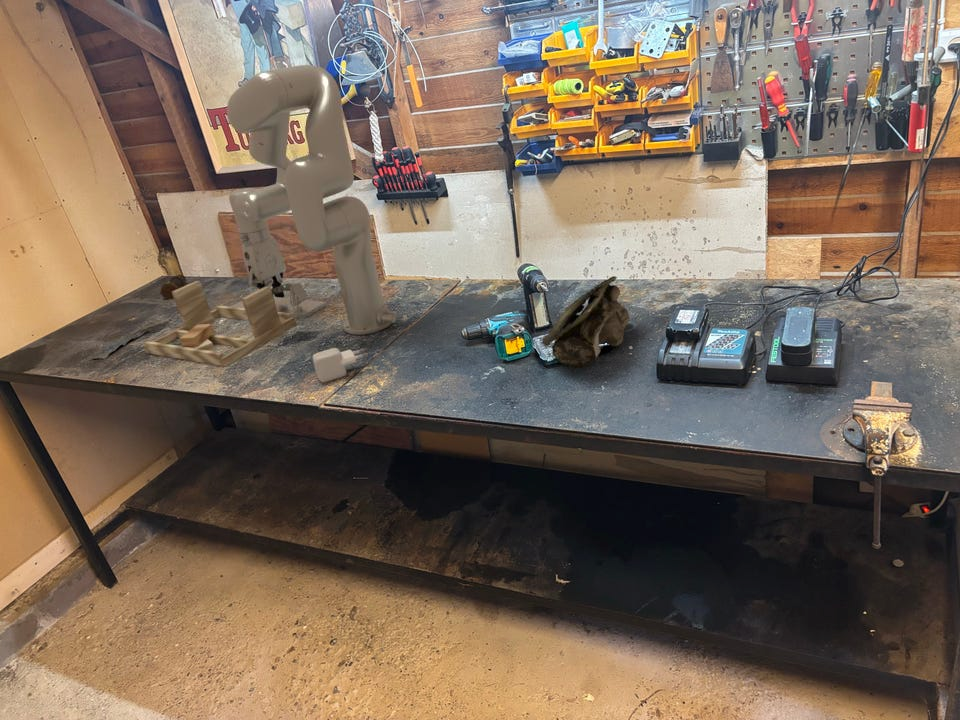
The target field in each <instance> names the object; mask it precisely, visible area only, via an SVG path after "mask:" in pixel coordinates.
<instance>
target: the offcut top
mask: <svg viewBox="0 0 960 720" xmlns="http://www.w3.org/2000/svg"><path fill="white" fill-rule="evenodd" d="M212 334H213V335H215V331H214V327H213V325H212V323H211V324H202V325H196V326H195V327H194V328H192V329H191V330H190V331H189V332H187V333H186V334H185V335H183V336H182V337H181V338H178V339H179V341H180V344H181V346H182V347H198V346H199V345H200V344H202V343H203V342H204V341H205V340H206V339H208V338H209V337H210V336H211V335H212Z"/></svg>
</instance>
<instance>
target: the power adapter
mask: <svg viewBox="0 0 960 720" xmlns="http://www.w3.org/2000/svg"><path fill="white" fill-rule="evenodd" d="M365 351H366V350H365V348H360V349H357V350H354V351H352V350H351V349H346V350H344V351H340V349H339V348H338V347H332V348H329V349H325V350H321V351H319V352H315V353H314V354H312V362H313V366H314V369H315V372H316V375H317V378H318V380H319V381H320V383H327V382H328V383H329V382H331V381H334V380H337V379H340V378H343V377H345V376H346V375H347V369H346V366H348V365H352V364H356V363H357V359H360V358H365V357H368V356H369V354H368V352H365ZM356 354H357V355H356Z"/></svg>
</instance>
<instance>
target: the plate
mask: <svg viewBox="0 0 960 720" xmlns="http://www.w3.org/2000/svg"><path fill="white" fill-rule="evenodd" d="M273 297H274V300H275V305H276V308H277V311H278V312H284V313H291V315H292V317H295V319H307V318H308V317H309V316H312V315H313V314H314V313H316V312H318V311H320V310H322V309H323V308H325V307H326V306H327V302H326V301H320V300H319V301H318V300H311V299H310V300H308V299H306V300H304V301H302V302H301V303H300V304H299V305H296V306H294V305H293V303H292V305H293V306H294V307H292V305H291V303H290V298H287V297H283V298H281V297H275V296H273ZM295 300H297V299H296V298H295ZM291 302H292V298H291ZM296 303H297V302H296ZM230 307H236V308H245V307H244V304H243V301H242V300H241V301H238V302H237V303H235V304H233V305H231V306H230Z"/></svg>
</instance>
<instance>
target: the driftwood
mask: <svg viewBox="0 0 960 720" xmlns="http://www.w3.org/2000/svg"><path fill="white" fill-rule="evenodd" d="M145 326H146V325H144V324H141V323H139V324H138V327H137V328H136V329H134V330H130V332H128V333H126V335H123V336H121V337H119V338H117V339H116V340H115V341H113V342H111V343H110V344H109V345H107V346H104V347H103V348H102V349H101V350H100V351H99V352H98V353H97V355H96V356H95V357H93V358H92V360H94V359H107V358H108V357H109V355H110V354H111V353H112V352H114V351H116V350H117V349H118V348H119V347H120V346H122V345H123V347H125V346H126V344H127V343H128V342H129V341H130V340H132V339H137V338H138V337H140V336H142V335H144V334H145V333H146V332H147V330H145V331H142V332H141V333H140V334H139V335H137V334H136V336H134V337H132V338H131V337H130V338H128V339H126V338H127V337H128V336H130V335H133V334H135V333H137V332H138V331H141V330H142V328H145ZM151 329H152V328H151V327H150V328H149V330H151Z"/></svg>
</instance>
